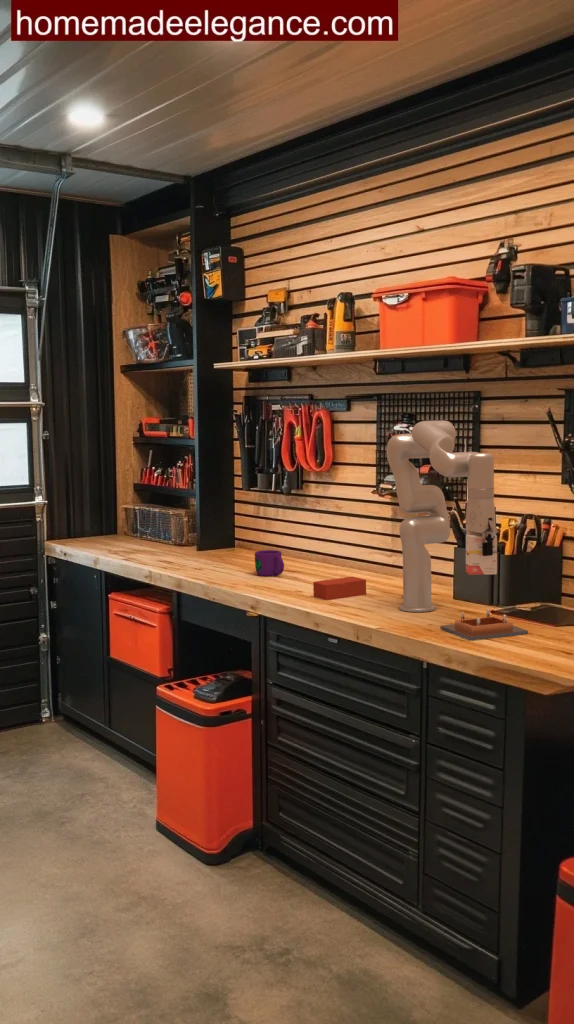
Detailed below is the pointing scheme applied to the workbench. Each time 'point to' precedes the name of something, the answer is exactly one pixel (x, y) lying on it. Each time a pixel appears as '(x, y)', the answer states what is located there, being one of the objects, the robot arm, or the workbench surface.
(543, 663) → the workbench surface
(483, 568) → the ink cartridge box
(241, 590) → the workbench surface
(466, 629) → the cartridge tray
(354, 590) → the brick
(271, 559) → the mug
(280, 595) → the workbench surface
